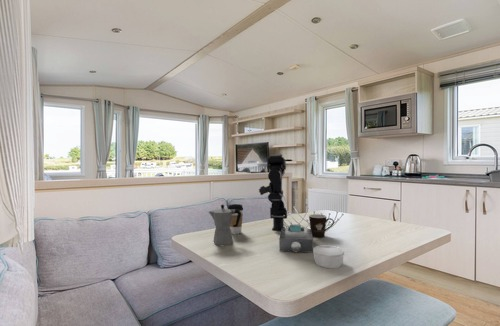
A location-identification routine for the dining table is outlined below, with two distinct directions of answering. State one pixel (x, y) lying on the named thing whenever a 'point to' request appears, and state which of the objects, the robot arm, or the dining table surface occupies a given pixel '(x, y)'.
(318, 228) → the coffee mug
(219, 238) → the coffeepot
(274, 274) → the dining table surface
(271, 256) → the dining table surface
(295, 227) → the metal can
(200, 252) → the dining table surface
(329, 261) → the ramekin
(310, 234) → the grey hollow block
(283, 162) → the robot arm
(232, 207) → the coffee cup
